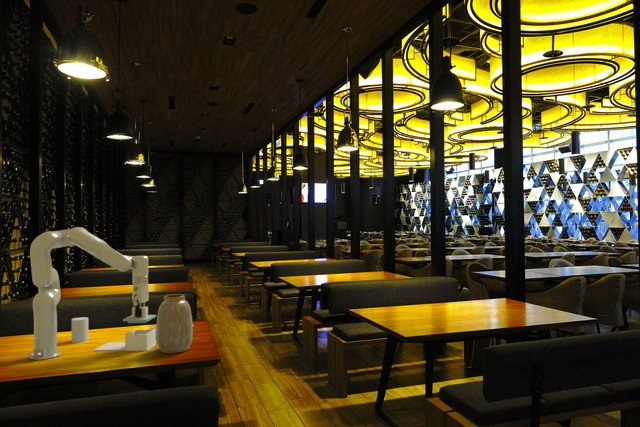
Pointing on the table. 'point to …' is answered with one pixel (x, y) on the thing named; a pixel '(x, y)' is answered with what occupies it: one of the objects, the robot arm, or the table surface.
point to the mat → (112, 346)
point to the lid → (142, 319)
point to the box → (140, 340)
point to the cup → (79, 330)
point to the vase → (174, 324)
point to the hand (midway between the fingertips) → (139, 315)
